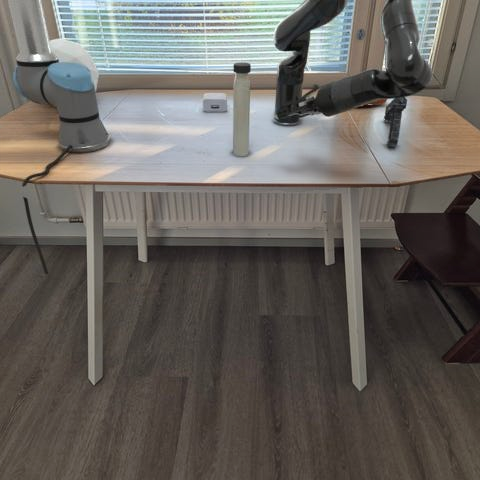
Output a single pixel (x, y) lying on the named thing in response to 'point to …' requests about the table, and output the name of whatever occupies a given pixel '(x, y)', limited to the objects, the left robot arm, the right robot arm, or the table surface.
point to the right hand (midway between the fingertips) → (287, 114)
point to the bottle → (241, 114)
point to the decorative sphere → (74, 55)
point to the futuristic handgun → (394, 118)
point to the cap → (242, 68)
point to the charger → (215, 102)
